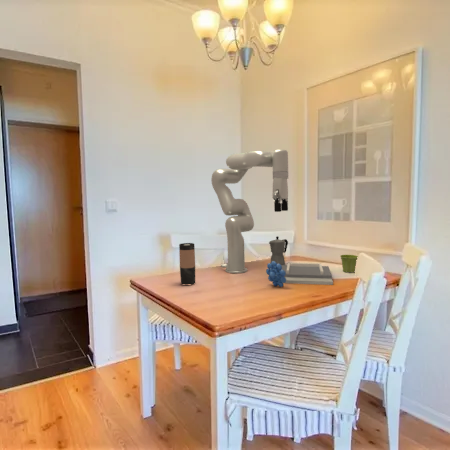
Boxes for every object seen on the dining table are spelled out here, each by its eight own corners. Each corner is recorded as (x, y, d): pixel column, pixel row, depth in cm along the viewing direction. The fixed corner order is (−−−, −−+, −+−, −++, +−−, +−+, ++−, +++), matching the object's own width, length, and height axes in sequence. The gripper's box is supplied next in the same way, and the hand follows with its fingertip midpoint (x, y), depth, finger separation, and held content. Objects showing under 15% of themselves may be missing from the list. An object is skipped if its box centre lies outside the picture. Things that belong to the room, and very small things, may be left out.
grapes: (260, 285, 163) (260, 261, 162) (269, 283, 167) (269, 259, 166) (279, 290, 154) (279, 264, 153) (289, 287, 159) (288, 262, 157)
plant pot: (359, 270, 189) (359, 255, 188) (356, 274, 181) (356, 258, 180) (342, 269, 194) (342, 254, 193) (338, 272, 186) (338, 256, 185)
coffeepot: (275, 268, 199) (274, 238, 198) (264, 266, 207) (263, 236, 205) (293, 264, 208) (293, 235, 206) (282, 262, 216) (282, 234, 214)
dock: (277, 282, 167) (277, 273, 167) (281, 270, 194) (280, 262, 194) (333, 284, 161) (333, 275, 161) (328, 271, 189) (328, 263, 188)
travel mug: (198, 282, 172) (197, 243, 170) (190, 286, 165) (189, 245, 163) (185, 281, 175) (184, 242, 173) (177, 284, 168) (176, 244, 166)
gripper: (279, 177, 174) (280, 210, 175) (266, 175, 159) (267, 212, 160) (293, 176, 170) (294, 210, 172) (281, 174, 155) (282, 211, 156)
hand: (281, 211), depth 166 cm, fingers open, 9 cm apart
